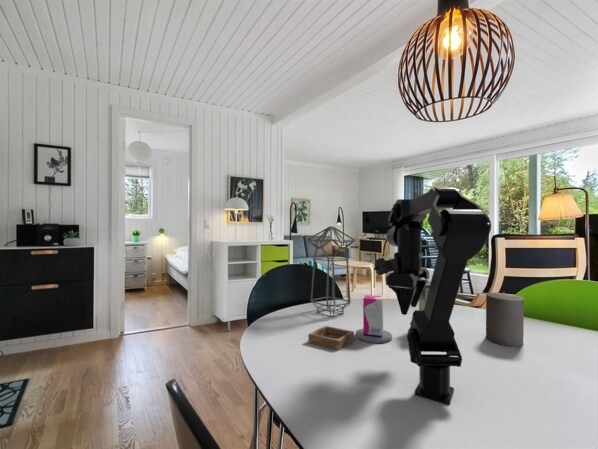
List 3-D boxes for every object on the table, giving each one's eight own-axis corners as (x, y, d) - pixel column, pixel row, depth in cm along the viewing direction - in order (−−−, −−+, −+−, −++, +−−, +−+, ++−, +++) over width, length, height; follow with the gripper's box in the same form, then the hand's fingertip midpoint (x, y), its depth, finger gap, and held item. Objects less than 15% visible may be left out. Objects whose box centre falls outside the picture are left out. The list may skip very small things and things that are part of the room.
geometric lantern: (303, 312, 123) (304, 226, 124) (329, 306, 134) (330, 226, 135) (332, 321, 112) (333, 225, 113) (358, 313, 122) (359, 226, 123)
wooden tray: (339, 350, 84) (339, 341, 84) (308, 342, 90) (308, 334, 90) (353, 339, 93) (353, 331, 93) (324, 333, 98) (324, 325, 98)
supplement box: (383, 331, 97) (383, 295, 97) (382, 337, 92) (382, 299, 92) (364, 329, 99) (365, 294, 99) (362, 335, 93) (363, 298, 94)
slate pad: (385, 346, 88) (385, 342, 88) (349, 338, 94) (349, 335, 94) (396, 335, 97) (396, 332, 97) (363, 329, 103) (363, 326, 103)
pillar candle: (478, 337, 96) (478, 289, 96) (500, 333, 99) (500, 287, 100) (509, 349, 87) (509, 296, 87) (532, 344, 90) (532, 293, 90)
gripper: (389, 246, 90) (388, 299, 89) (365, 248, 74) (364, 313, 74) (429, 247, 83) (429, 305, 83) (412, 250, 68) (412, 321, 68)
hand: (409, 310), depth 77 cm, fingers open, 9 cm apart
